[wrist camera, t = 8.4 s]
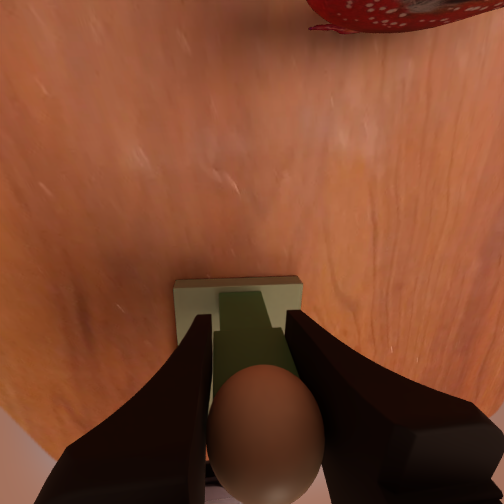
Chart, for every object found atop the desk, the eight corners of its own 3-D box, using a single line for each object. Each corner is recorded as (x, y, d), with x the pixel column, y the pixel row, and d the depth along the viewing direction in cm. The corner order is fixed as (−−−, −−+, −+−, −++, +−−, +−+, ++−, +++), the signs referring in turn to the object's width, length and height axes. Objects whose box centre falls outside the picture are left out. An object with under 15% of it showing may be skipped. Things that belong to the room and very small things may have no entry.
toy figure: (335, 527, 7) (359, 444, 6) (205, 549, 7) (199, 465, 5) (267, 312, 17) (271, 261, 15) (211, 315, 16) (209, 262, 15)
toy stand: (285, 408, 21) (289, 421, 20) (186, 418, 20) (184, 432, 19) (297, 275, 18) (303, 283, 16) (175, 279, 16) (172, 288, 15)
